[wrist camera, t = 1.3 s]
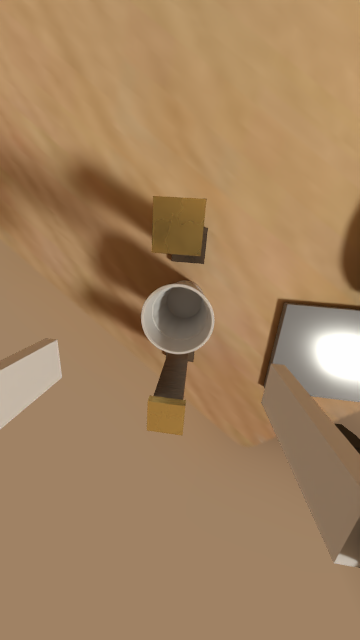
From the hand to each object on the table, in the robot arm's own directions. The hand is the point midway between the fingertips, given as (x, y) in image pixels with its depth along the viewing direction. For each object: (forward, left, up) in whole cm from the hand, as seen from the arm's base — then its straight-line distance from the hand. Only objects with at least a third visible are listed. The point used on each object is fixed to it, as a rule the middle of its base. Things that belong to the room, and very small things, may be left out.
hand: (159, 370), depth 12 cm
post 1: (-9, 0, -21) cm, 23 cm away
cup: (0, 0, -22) cm, 22 cm away
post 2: (+8, 0, -21) cm, 23 cm away
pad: (+7, +24, -21) cm, 33 cm away
